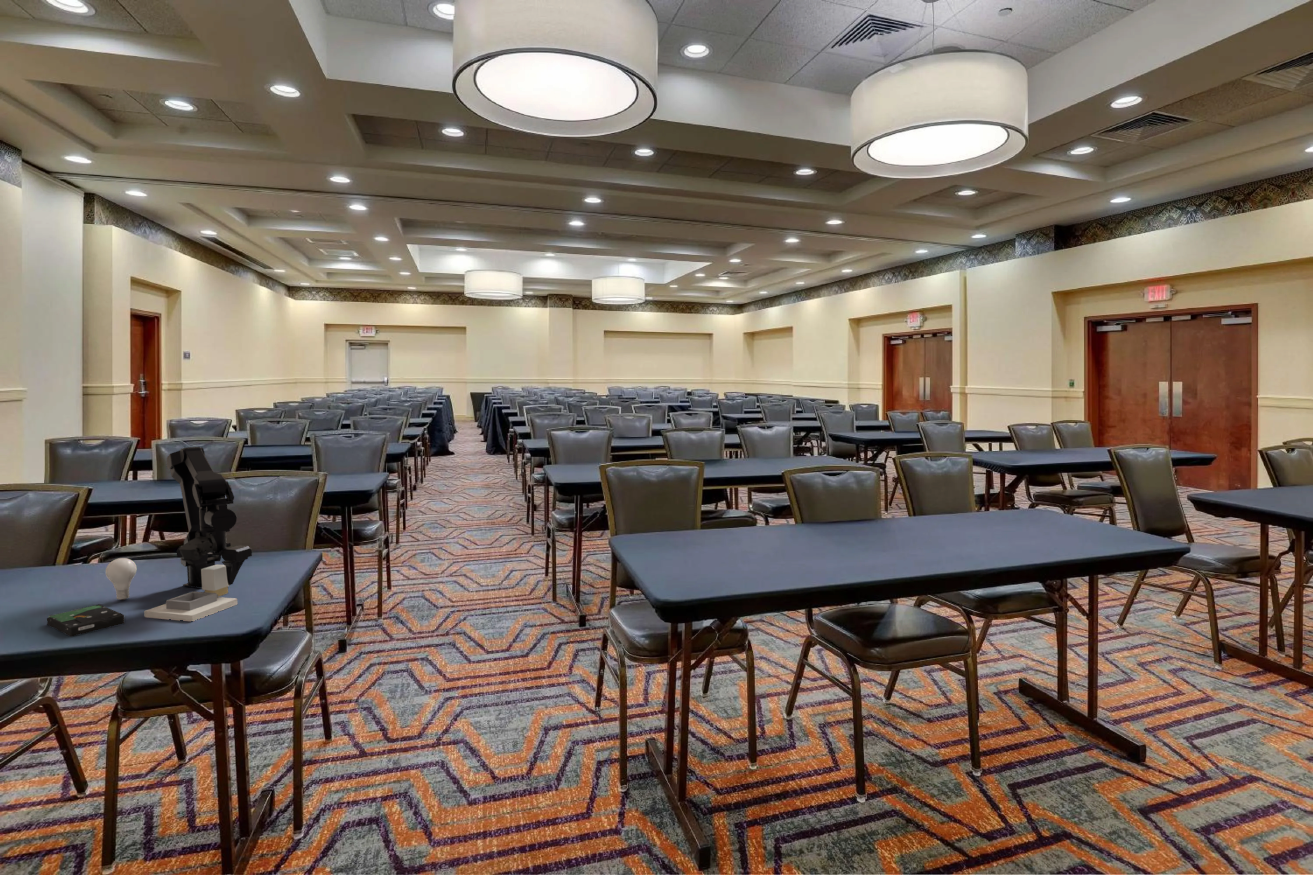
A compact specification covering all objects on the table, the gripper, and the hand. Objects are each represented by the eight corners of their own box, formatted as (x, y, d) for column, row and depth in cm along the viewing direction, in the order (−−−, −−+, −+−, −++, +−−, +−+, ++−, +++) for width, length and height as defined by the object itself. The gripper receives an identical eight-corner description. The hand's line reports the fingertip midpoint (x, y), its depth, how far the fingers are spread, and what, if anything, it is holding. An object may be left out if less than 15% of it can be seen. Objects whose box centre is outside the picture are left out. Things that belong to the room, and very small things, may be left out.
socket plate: (144, 617, 165) (143, 602, 164) (192, 600, 177) (191, 587, 177) (192, 621, 162) (191, 607, 161) (237, 604, 174) (236, 590, 174)
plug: (202, 597, 180) (201, 569, 180) (217, 591, 185) (216, 564, 184) (215, 598, 179) (213, 569, 179) (230, 592, 184) (228, 565, 184)
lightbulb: (144, 597, 180) (141, 556, 179) (118, 604, 174) (115, 562, 173) (127, 595, 182) (125, 554, 181) (101, 602, 176) (98, 560, 175)
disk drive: (126, 625, 161) (99, 614, 168) (125, 614, 160) (99, 602, 168) (70, 639, 152) (45, 626, 160) (70, 627, 152) (44, 614, 159)
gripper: (155, 530, 175) (159, 590, 176) (216, 533, 171) (219, 594, 172) (194, 521, 186) (197, 578, 187) (252, 524, 182) (254, 582, 183)
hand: (216, 583), depth 182 cm, fingers open, 9 cm apart
